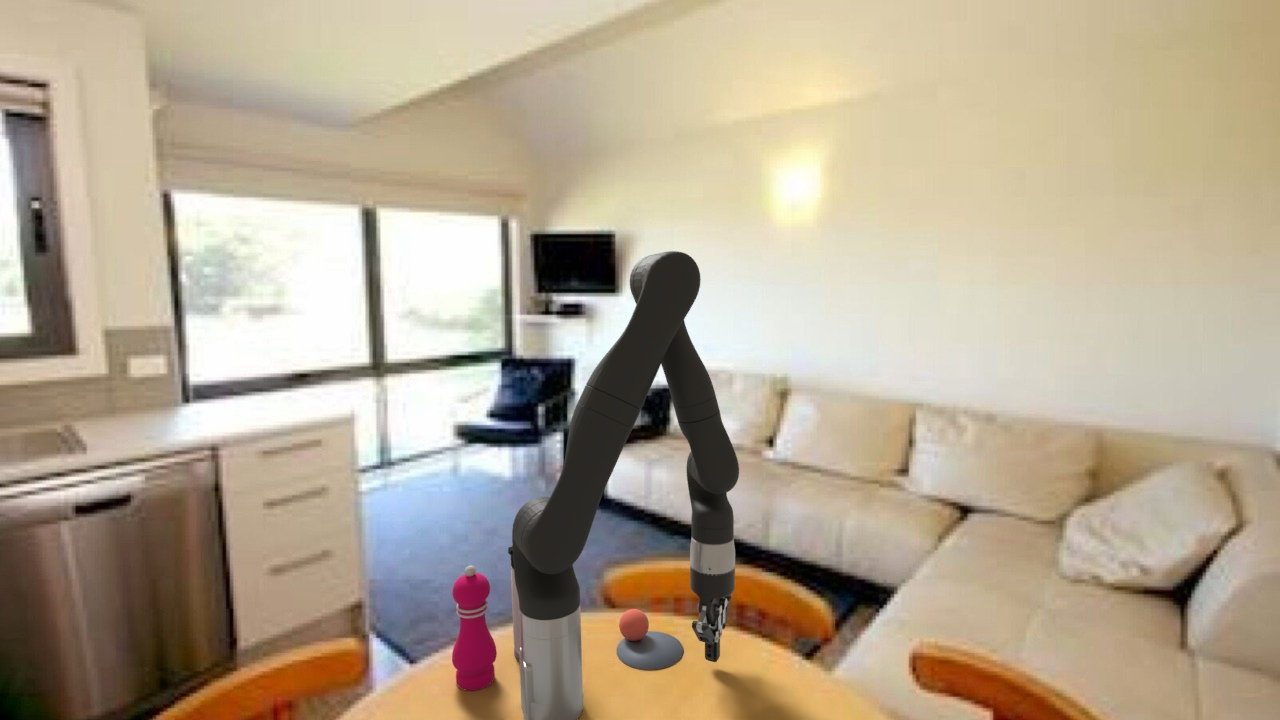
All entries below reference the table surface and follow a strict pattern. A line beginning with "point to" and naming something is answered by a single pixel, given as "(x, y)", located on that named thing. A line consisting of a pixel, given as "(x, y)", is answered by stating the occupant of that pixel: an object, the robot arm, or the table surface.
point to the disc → (650, 651)
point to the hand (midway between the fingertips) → (712, 658)
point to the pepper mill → (473, 632)
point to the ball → (633, 624)
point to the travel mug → (515, 608)
